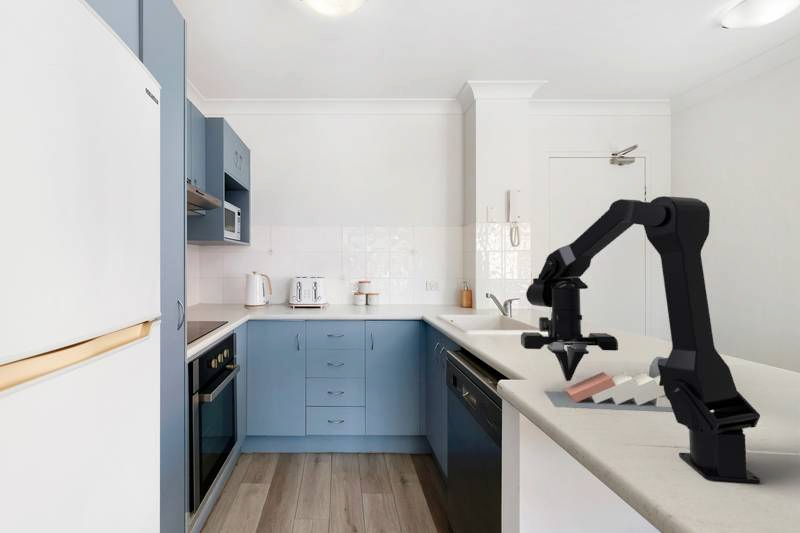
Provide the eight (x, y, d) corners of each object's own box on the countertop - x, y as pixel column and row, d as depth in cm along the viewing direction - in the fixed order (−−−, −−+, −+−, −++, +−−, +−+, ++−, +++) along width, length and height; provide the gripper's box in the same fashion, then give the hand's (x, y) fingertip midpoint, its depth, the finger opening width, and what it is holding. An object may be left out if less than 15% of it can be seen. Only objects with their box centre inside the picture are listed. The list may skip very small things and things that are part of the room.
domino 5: (657, 406, 73) (707, 408, 72) (657, 397, 73) (706, 399, 72) (646, 399, 78) (693, 401, 76) (646, 390, 78) (692, 392, 76)
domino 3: (616, 404, 75) (658, 387, 73) (612, 396, 75) (654, 379, 73) (607, 397, 79) (647, 380, 78) (603, 390, 79) (643, 373, 78)
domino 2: (595, 403, 75) (637, 386, 74) (591, 395, 75) (632, 378, 74) (588, 396, 80) (627, 379, 78) (584, 389, 80) (623, 372, 78)
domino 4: (638, 405, 74) (681, 387, 73) (633, 397, 74) (676, 379, 73) (628, 398, 78) (668, 381, 77) (624, 390, 78) (664, 373, 77)
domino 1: (575, 402, 76) (615, 385, 75) (570, 395, 76) (611, 377, 75) (568, 396, 80) (607, 379, 79) (564, 388, 80) (603, 371, 79)
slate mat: (679, 414, 70) (678, 412, 70) (555, 408, 74) (555, 406, 74) (652, 397, 80) (652, 395, 80) (544, 392, 84) (544, 391, 84)
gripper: (597, 305, 85) (599, 371, 85) (516, 306, 88) (517, 369, 88) (618, 310, 74) (620, 386, 74) (524, 310, 77) (526, 383, 77)
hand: (567, 380), depth 78 cm, fingers closed
